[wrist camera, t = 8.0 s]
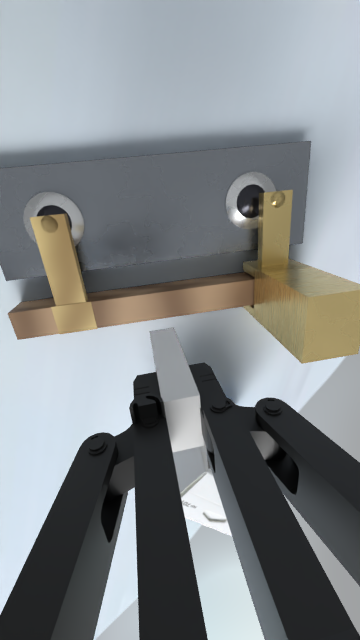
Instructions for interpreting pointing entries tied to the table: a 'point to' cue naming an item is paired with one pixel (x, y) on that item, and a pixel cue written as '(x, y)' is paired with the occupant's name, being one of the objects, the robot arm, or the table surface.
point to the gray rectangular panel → (150, 205)
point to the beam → (113, 292)
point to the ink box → (199, 489)
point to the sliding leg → (300, 292)
